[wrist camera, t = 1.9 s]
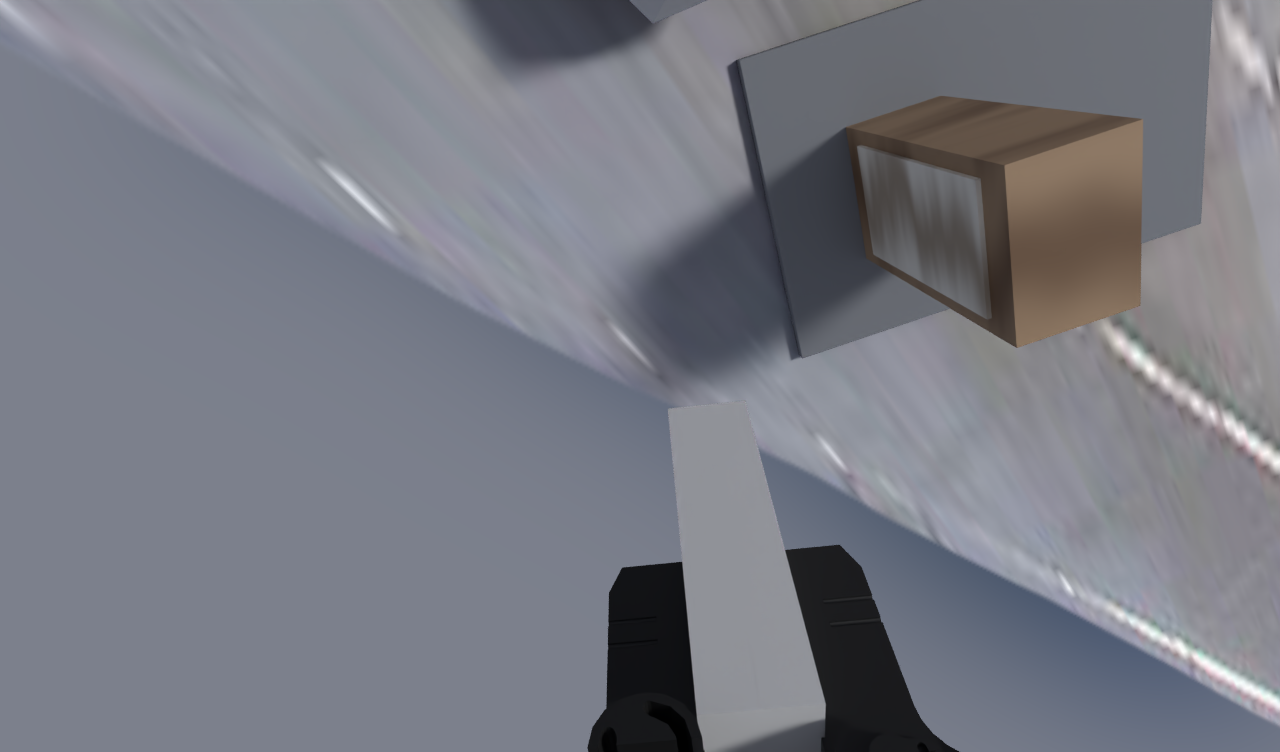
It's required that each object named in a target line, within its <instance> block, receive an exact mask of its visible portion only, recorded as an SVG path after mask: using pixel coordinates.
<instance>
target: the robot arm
mask: <svg viewBox="0 0 1280 752" xmlns="http://www.w3.org/2000/svg"><path fill="white" fill-rule="evenodd" d="M668 416H669V426H670V437H671V446H672V458H673V469H674V479H675V490H676V499H677V511H678V521H679V531H680V543H681V553H682V562H676V563H666V564H655V565H646V566H635V567H624V568H622V569H621V571H620V573H619V575H618V577H617V579H616V581H615V583H614V585H613V586H612V588H611V590H610V592H609V627H608V664H607V708H606V710H604V712H603V713H602V715H601V716H600V718H599V719H598V720H597V722H596V723H595V725H594V726H593V728H592V732H591V736H590V740H589V744H588V752H959V751H957V750H955V749H953V748H952V747H950V746H948V745H946V744H945V743H944V742H943V741H942V740H940V739H939V738H938V737H937V736H935V735H934V734H933V733H932V732H931V731H930V729H929V728H928V727H927V726H926V725H925V723H924V722H923V721H922V720H921V718H920V716H919V714H918V712H917V710H916V708H915V707H914V704H913V701H912V699H911V696H910V693H909V691H908V688H907V686H906V683H905V680H904V678H903V675H902V672H901V670H900V667H899V665H898V662H897V659H896V657H895V654H894V651H893V649H892V646H891V643H890V641H889V638H888V636H887V633H886V630H885V628H884V625H883V623H882V622H881V619H880V614H879V612H878V609H877V607H876V604H875V601H874V600H873V599H872V594H871V591H870V588H869V586H868V583H867V580H866V578H865V575H864V573H863V570H862V567H861V566H860V565H859V564H858V563H857V562H856V561H855V560H854V559H853V558H852V557H851V556H850V555H849V554H848V553H847V552H846V551H845V550H844V549H843V548H842V547H841V546H840V545H834V546H822V547H812V548H801V549H791V550H785V548H784V545H783V541H782V537H781V533H780V530H779V526H778V522H777V518H776V514H775V511H774V507H773V503H772V500H771V496H770V492H769V488H768V484H767V481H766V477H765V473H764V469H763V465H762V462H761V458H760V454H759V450H758V446H757V443H756V439H755V435H754V431H753V428H752V424H751V420H750V416H749V412H748V409H747V405H746V401H736V402H727V403H717V404H708V405H698V406H689V407H679V408H671V409H668Z"/></svg>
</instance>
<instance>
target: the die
mask: <svg viewBox="0 0 1280 752" xmlns="http://www.w3.org/2000/svg"><path fill="white" fill-rule="evenodd" d="M629 1H630V2H631V3H632V4H633V5H634V6H636V7H637V8H638V9H639V10H640V11H641V12H642V13H643V14H644V15H645V16H646V17H647V18H648V19H649V20H650V21H651V22H652V23H655V22H658V21H660V20H662V19H665V18H667V17H669V16H672V15H674V14H676V13H679V12H681V11H683V10H686V9H688V8H690V7H693V6H695V5H697V4H699V3H702V2H704V1H706V0H629Z"/></svg>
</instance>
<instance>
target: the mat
mask: <svg viewBox="0 0 1280 752" xmlns="http://www.w3.org/2000/svg"><path fill="white" fill-rule="evenodd" d="M1211 18H1212V0H919V1H916V2H912V3H909V4H906V5H903V6H900V7H897V8H894V9H891V10H888V11H885V12H882V13H879V14H876V15H873V16H870V17H867V18H864V19H861V20H858V21H854V22H851V23H848V24H845V25H842V26H839V27H836V28H833V29H830V30H827V31H824V32H821V33H818V34H815V35H812V36H809V37H806V38H803V39H799V40H796V41H793V42H790V43H787V44H784V45H781V46H778V47H775V48H772V49H769V50H766V51H763V52H760V53H757V54H754V55H751V56H748V57H744V58H741V59H738V60H737V64H738V69H739V74H740V78H741V83H742V88H743V92H744V97H745V102H746V107H747V111H748V116H749V121H750V125H751V130H752V135H753V139H754V144H755V149H756V154H757V158H758V163H759V168H760V172H761V177H762V182H763V186H764V191H765V196H766V201H767V205H768V210H769V215H770V219H771V224H772V229H773V233H774V238H775V243H776V248H777V252H778V257H779V262H780V266H781V271H782V276H783V280H784V285H785V290H786V294H787V299H788V304H789V309H790V313H791V318H792V323H793V327H794V332H795V337H796V341H797V346H798V351H799V355H800V356H801V357H802V358H805V357H808V356H811V355H814V354H817V353H820V352H823V351H826V350H829V349H832V348H835V347H838V346H841V345H844V344H847V343H849V342H852V341H855V340H858V339H861V338H864V337H867V336H870V335H873V334H876V333H879V332H882V331H885V330H888V329H891V328H894V327H897V326H900V325H903V324H906V323H908V322H911V321H914V320H917V319H920V318H923V317H926V316H929V315H932V314H935V313H938V312H941V311H944V310H947V309H950V308H949V307H947V306H946V305H944V304H942V303H940V302H939V301H937V300H935V299H934V298H932V297H930V296H929V295H927V294H925V293H924V292H922V291H920V290H919V289H917V288H915V287H914V286H912V285H910V284H909V283H907V282H905V281H903V280H902V279H900V278H898V277H897V276H895V275H893V274H892V273H890V272H888V271H887V270H885V269H883V268H882V267H880V266H878V265H877V264H875V263H873V262H872V261H870V260H868V259H866V253H865V247H864V240H863V234H862V227H861V221H860V215H859V208H858V202H857V196H856V189H855V183H854V177H853V170H852V164H851V158H850V151H849V145H848V139H847V132H846V127H847V126H850V125H853V124H856V123H859V122H863V121H866V120H869V119H872V118H875V117H878V116H881V115H884V114H887V113H890V112H893V111H896V110H899V109H902V108H905V107H908V106H911V105H914V104H917V103H920V102H923V101H926V100H929V99H932V98H935V97H938V96H948V97H956V98H965V99H974V100H982V101H991V102H1000V103H1008V104H1017V105H1026V106H1034V107H1043V108H1052V109H1061V110H1069V111H1078V112H1087V113H1095V114H1104V115H1113V116H1121V117H1130V118H1139V119H1143V164H1142V230H1141V244H1142V243H1145V242H1148V241H1150V240H1153V239H1156V238H1159V237H1162V236H1165V235H1168V234H1171V233H1174V232H1177V231H1180V230H1183V229H1186V228H1189V227H1192V226H1195V225H1198V224H1201V211H1202V192H1203V173H1204V153H1205V134H1206V114H1207V95H1208V76H1209V56H1210V37H1211Z"/></svg>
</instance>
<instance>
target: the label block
mask: <svg viewBox="0 0 1280 752" xmlns="http://www.w3.org/2000/svg"><path fill="white" fill-rule="evenodd" d="M846 132H847V139H848V145H849V151H850V158H851V164H852V170H853V177H854V183H855V189H856V196H857V202H858V208H859V215H860V221H861V227H862V234H863V240H864V247H865V253H866V259H868V260H870V261H872V262H873V263H875V264H877V265H878V266H880V267H882V268H883V269H885V270H887V271H888V272H890V273H892V274H893V275H895V276H897V277H898V278H900V279H902V280H903V281H905V282H907V283H909V284H910V285H912V286H914V287H915V288H917V289H919V290H920V291H922V292H924V293H925V294H927V295H929V296H930V297H932V298H934V299H935V300H937V301H939V302H940V303H942V304H944V305H946V306H947V307H949V308H951V309H952V310H954V311H956V312H957V313H959V314H961V315H962V316H964V317H966V318H967V319H969V320H971V321H972V322H974V323H976V324H977V325H979V326H981V327H982V328H984V329H986V330H988V331H989V332H991V333H993V334H994V335H996V336H998V337H999V338H1001V339H1003V340H1004V341H1006V342H1008V343H1009V344H1011V345H1013V346H1014V347H1016V348H1018V347H1021V346H1024V345H1027V344H1030V343H1032V342H1035V341H1038V340H1041V339H1044V338H1047V337H1050V336H1053V335H1056V334H1059V333H1062V332H1065V331H1068V330H1071V329H1074V328H1076V327H1079V326H1082V325H1085V324H1088V323H1091V322H1094V321H1097V320H1100V319H1103V318H1106V317H1109V316H1112V315H1115V314H1117V313H1120V312H1123V311H1126V310H1129V309H1132V308H1135V307H1138V306H1140V296H1141V230H1142V164H1143V119H1139V118H1130V117H1121V116H1113V115H1104V114H1095V113H1087V112H1078V111H1069V110H1061V109H1052V108H1043V107H1034V106H1026V105H1017V104H1008V103H1000V102H991V101H982V100H974V99H965V98H956V97H948V96H938V97H935V98H932V99H929V100H926V101H923V102H920V103H917V104H914V105H911V106H908V107H905V108H902V109H899V110H896V111H893V112H890V113H887V114H884V115H881V116H878V117H875V118H872V119H869V120H866V121H863V122H859V123H856V124H853V125H850V126H847V127H846Z"/></svg>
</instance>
